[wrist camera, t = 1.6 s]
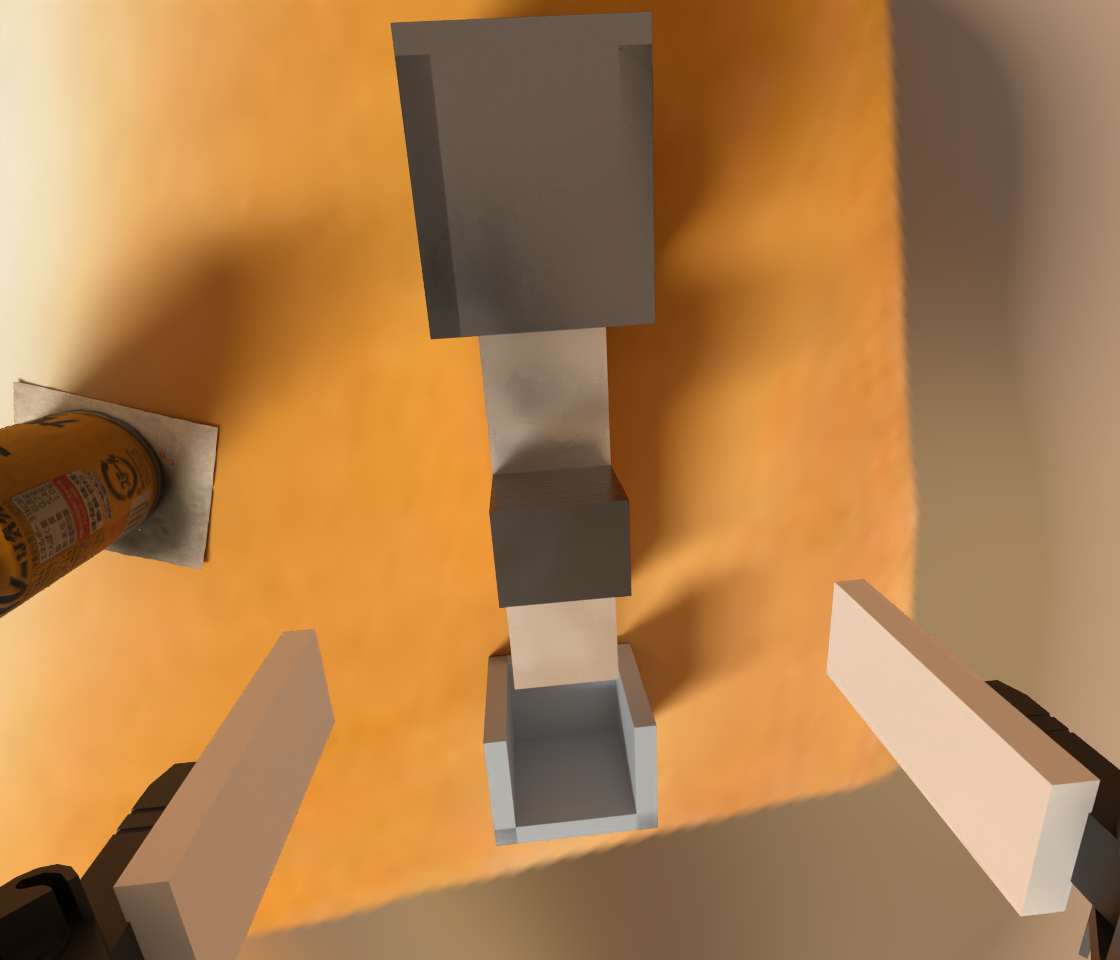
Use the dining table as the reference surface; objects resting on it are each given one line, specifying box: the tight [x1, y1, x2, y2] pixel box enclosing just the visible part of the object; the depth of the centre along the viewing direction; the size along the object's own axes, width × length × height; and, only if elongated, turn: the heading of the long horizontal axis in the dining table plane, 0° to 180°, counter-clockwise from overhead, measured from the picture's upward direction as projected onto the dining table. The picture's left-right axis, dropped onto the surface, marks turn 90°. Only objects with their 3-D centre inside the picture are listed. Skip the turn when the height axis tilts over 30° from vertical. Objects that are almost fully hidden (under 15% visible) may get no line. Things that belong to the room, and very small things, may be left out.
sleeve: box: [391, 11, 655, 339], centre depth 22 cm, size 9×8×7 cm
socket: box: [483, 643, 658, 846], centre depth 31 cm, size 6×8×6 cm
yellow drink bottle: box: [0, 382, 218, 618], centre depth 23 cm, size 7×8×12 cm
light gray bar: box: [479, 327, 631, 689], centre depth 23 cm, size 22×4×9 cm, turn 4°
